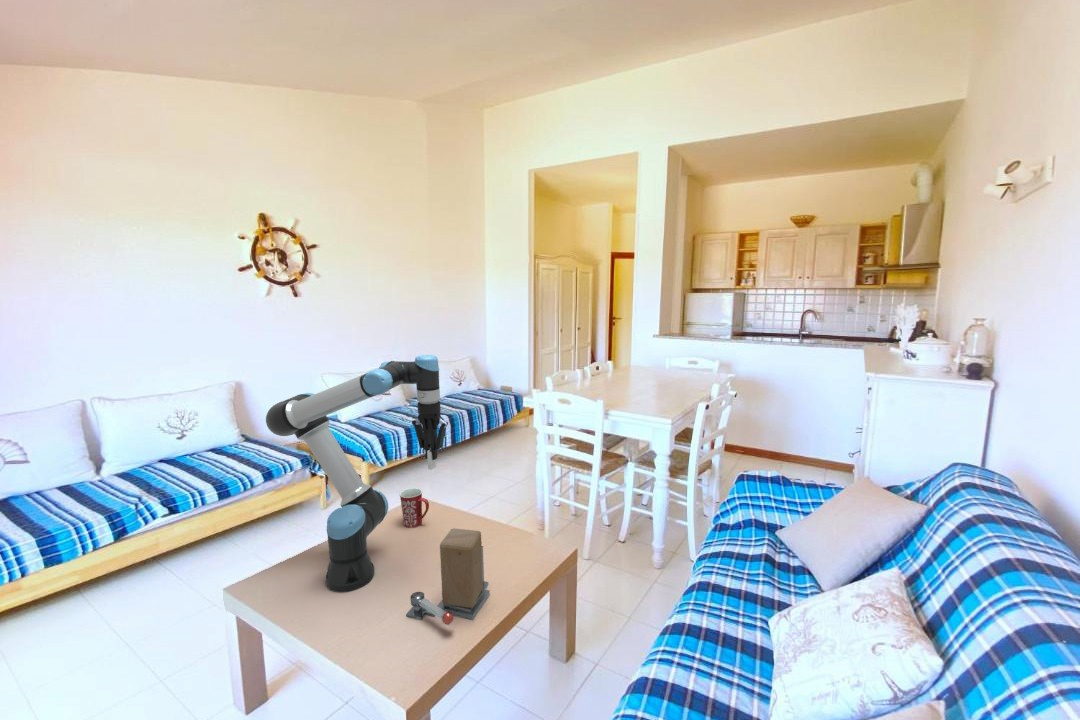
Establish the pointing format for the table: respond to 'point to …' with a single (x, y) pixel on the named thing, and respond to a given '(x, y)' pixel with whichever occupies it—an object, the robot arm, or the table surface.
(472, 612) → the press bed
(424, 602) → the lever
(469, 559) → the wooden block
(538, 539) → the table surface
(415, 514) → the mug
